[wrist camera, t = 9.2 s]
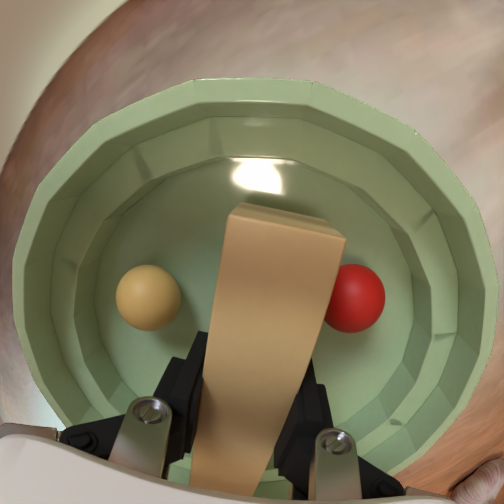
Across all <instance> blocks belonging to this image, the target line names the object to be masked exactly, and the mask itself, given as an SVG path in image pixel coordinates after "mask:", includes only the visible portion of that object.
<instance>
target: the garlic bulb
mask: <svg viewBox="0 0 504 504" xmlns="http://www.w3.org/2000/svg"><path fill="white" fill-rule="evenodd" d="M503 484H504V459H502V458H500V459H496V460H491V461H488V462H487V463H485V464H484V465H482V466H480V467H479V469H477V471H476V472H475V473H473V474H472V475H471V476H469V477H468V478H467V479H466V480H465V481H463V482H462V483H460V484H459V485H458V486H456V487H455V488H454V489H453V491H452V493H451V499H452V500H453V501H454V502H455V503H457V504H494V499H495V497H496V496H497V495H498V493H499V491H500V489H501V487H502V486H503Z"/></svg>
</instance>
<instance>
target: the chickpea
mask: <svg viewBox="0 0 504 504" xmlns="http://www.w3.org/2000/svg"><path fill="white" fill-rule="evenodd" d="M116 303H117V307H118V310H119V312H120V314H121V316H122V317H123V319H124V320H125V321H126V322H127V323H128V324H130V325H131V326H133V327H134V328H136V329H139V330H143V331H156V330H159V329H162V328H164V327H166V326H167V325H169V324H170V323H171V322H172V321H173V320H174V318H175V317H176V316H177V314H178V312H179V309H180V304H181V293H180V289H179V286H178V284H177V282H176V280H175V279H174V277H173V276H172V275H171V274H170V273H169V272H168V271H166V270H165V269H163V268H161V267H159V266H155V265H140V266H137V267H134V268H132V269H131V270H129V271H128V272H127V273H126V274H125V275H124V276H123V277H122V279H121V280H120V282H119V284H118V287H117V291H116Z"/></svg>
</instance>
